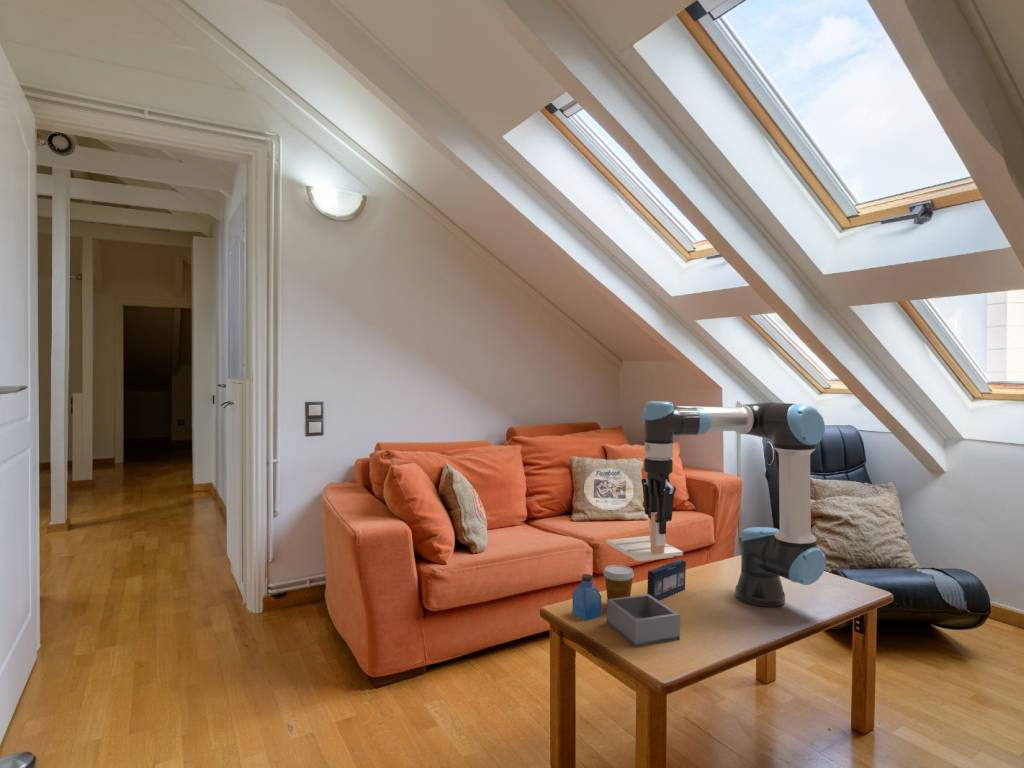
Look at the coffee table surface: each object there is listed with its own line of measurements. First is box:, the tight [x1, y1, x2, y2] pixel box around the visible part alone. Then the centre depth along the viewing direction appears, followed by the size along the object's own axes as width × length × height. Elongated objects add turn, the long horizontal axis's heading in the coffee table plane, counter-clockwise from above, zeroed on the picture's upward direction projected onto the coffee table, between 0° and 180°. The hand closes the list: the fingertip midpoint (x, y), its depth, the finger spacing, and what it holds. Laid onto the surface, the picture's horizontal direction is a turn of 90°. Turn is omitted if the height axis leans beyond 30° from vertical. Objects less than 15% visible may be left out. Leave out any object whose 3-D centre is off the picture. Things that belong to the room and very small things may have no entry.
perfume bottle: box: [571, 573, 602, 622], centre depth 177 cm, size 6×6×12 cm
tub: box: [606, 593, 681, 648], centre depth 167 cm, size 14×16×7 cm
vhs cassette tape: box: [646, 559, 687, 601], centre depth 194 cm, size 18×3×10 cm, turn 129°
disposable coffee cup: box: [603, 564, 635, 600], centre depth 183 cm, size 10×10×12 cm
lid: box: [606, 512, 684, 562], centre depth 166 cm, size 15×17×13 cm
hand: (657, 543), depth 160 cm, fingers closed on lid, 2 cm apart
